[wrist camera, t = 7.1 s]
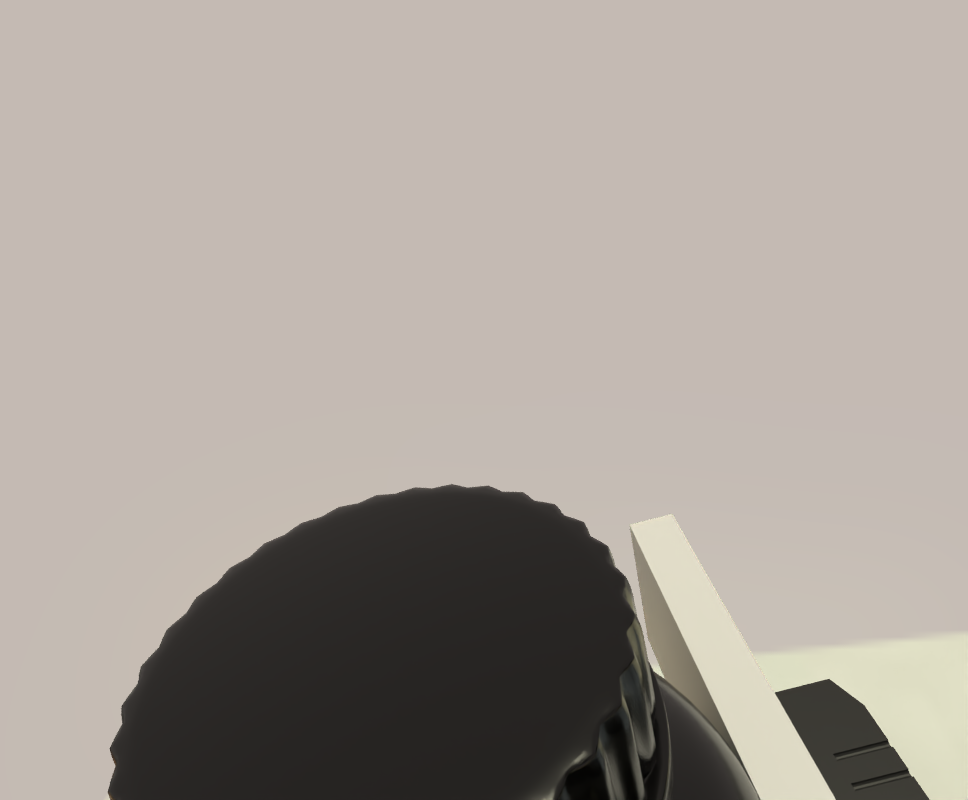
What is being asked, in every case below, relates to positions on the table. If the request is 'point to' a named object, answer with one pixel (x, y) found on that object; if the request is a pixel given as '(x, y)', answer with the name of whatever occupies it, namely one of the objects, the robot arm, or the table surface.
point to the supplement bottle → (418, 669)
